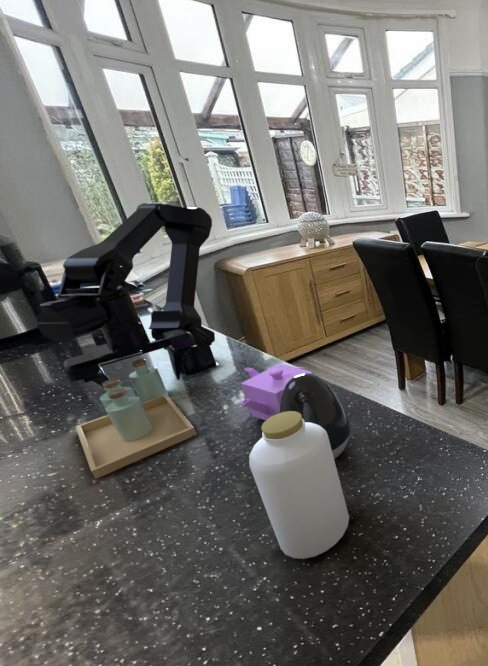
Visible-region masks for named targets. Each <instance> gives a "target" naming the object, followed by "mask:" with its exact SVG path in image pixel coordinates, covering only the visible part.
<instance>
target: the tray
mask: <svg viewBox="0 0 488 666" xmlns="http://www.w3.org/2000/svg"><path fill="white" fill-rule="evenodd" d="M141 404H142V406H143V408H144V410H145V412H146V414H147V416H148V418H149V420H150V422H151V424H152V427H153V430H152V431H151V432H150V433H149V434H148V435H146V436H144V437H142V438H140V439H137V440H134V441H129V442H124V441H122V440H121V439H120V437H119V435H118V433H117V431H116V429H115V427H114V425H113V423H112V422H111V420H110V418H109V416H108V414H107V415H104V416H100V417H98V418H96V419H93V420H90V421H87V422H84V423H81V424H79V425H76V426H75V429H76V432H77V435H78V438H79V441H80V444H81V446H82V449H83V452H84V455H85V457H86V462H87V463H88V466H89V468H90V471H91V473H92V475H93V477H94V478H95V479H99V478H101V477H103V476H106V475H109V474H110V473H112V472H114V471H117V470H119V469H122V468H124V467H127V466H128V465H131V464H133V463H135V462H138V461H139V460H142V459H145V458H147V457H149V456H152V455H153V454H156V453H158V452H160V451H163V450H165V449H167V448H169V447H172V446H174V445H176V444H179V443H181V442H183V441H186V440H188V439H190V438H193V437H195V436H197V435H198V433H197V432H196V429H195V427H194V426H193V425H192V423H191V422H190V421H189V420H188V418H187V417H186V416H185V414H183V412H182V411H181V410H180V409H179V407H178V406H177V405H176V403H175V402H174V401H173V400H172V398H170V397H169V394H168V395H167V394H165V395H162V396H159V397H156V398H153V399H151V400H148V401H145V402H142V403H141Z"/></svg>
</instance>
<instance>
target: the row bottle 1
mask: <svg viewBox="0 0 488 666" xmlns="http://www.w3.org/2000/svg"><path fill="white" fill-rule="evenodd" d="M109 379H110V380H107V381H105V382H103V383H102V385H103V387H102V388H103V389H105V391H106V392H104V393H103V394H102V395H100V397H99V400H100V402H101V404H102V406H103V408H104V410H105V409H106V407H107V406H108V405H110V404H111V403H113V402H112V400H111V399H110V398H109V396H108V393H109V392H111V391H113V390H115V389H119V388H124V389H125V390H126V392H127V393H126V394H127V396H128V397H137V394H135V393H136V392H135V391H134V389H133V387H131V386H123V387H122V385H121V381H120V378H118V377H117V378H109Z"/></svg>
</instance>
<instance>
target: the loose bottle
mask: <svg viewBox="0 0 488 666" xmlns="http://www.w3.org/2000/svg"><path fill="white" fill-rule="evenodd" d="M130 365H131V367H132V368H133V370H134V371H133V372H131V373H130V374H129V375H128V378H129V380H130V383H131V385H132V386H133V388H134V389H133V390H135V391H134V392H135V393H136V396H137V397H138V398H139V399H140V402H141V403H142V402H145V401H148V400H151V399H153V398H156V397H159V396H162V395H165V394H167V395H168V396H169V392H168V389H167V387H166V385H165V384H164V381H163V379H162V376H161V374H160V372H159V370H158V367H156V366H148V364H147V360H146V358H140V359H135V360H133V361H131V362H130Z"/></svg>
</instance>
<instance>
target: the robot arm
mask: <svg viewBox="0 0 488 666" xmlns="http://www.w3.org/2000/svg"><path fill="white" fill-rule="evenodd" d="M212 227H213V219H212V217H211V215H210V214H209V212H207V211H206V210H205V209H203V208H202V207H183V206H177V205H171V204H168V203H165V202H143V203H141V204H139V205H137V207H136V210H135V211H133V213H132V214H131V215H130V216H128V217H127V218H126V219H125V220H124V221H123V222H122V223H121V224H120V225H119V226H117V227H116V229H114V230H113V231H112V232H111V233H110V234H109V235H108V236H106V237H105V238H104V239H103V240H101V241H100V242H98V243H97V244H93V245H91V246H88V247H85V248H82V249H81V250H79V251H77V252H75V253H74V254H72V255H70V256H68V257H67V258H66V259H65V260H64V262H63V263H62V268H64V269H63V270H64V271H63V273H62V278H61V282H60V285H59V289H58V293H57V298H58V299H56V300H53V301H52V300H51V301H46V302H43V303H40V304H39V308H40V309H41V312H39V314H38V315H37V319H36V322H37V323H36V326H37V328H38V329H39V331H40V332H41V333H42V334H43V336H45V337H47V338H48V339H50V340H52V341H53V342H57V343H64V344H65V343H68V342H72V341H73V340H76V339H78V338H80V337H82V336H85V335H88V334H90V336H91V338H92V340H93V343H94V344H95V346H96V347H101V346H105V345H106V346H107V347H108V349H109V351H110V353H109V352H108V353H106V354H102V355H99V356H98V355H97V356H95V357H94V355H93V354H92V352H88V353H85V354H81V355H76V356H74V357H70V358H66V359H65V360H64V361H63V367H64V369H65V371H66V373H67V375H68V378H69V379H70V381H71V382H78V381H83V383H90V382H93V383H95V384H97V385H99V386H100V387H102V388H104V387H103V385H102V383H103V382H105V381H107V380H110V379H111V378H110V377H109V376H108V374H107V373H106V372H105V370H104V369H103V367H105V366H107V365H111V364H115V363H118V362H121V361H125V360H127V359H128V360H129V359H131V358H134V357H138V356H141V355H145V354H148V353H151V352H155V351H159V350H162V349H163V350H165V351H167V354H168V357H169V360H170V365H171V369H172V372H173V375H174V377H175V379H176V380H177V381H179V380H180V379H181V375H184V376H185V377H190V376H193V375H196V374H199V373H202V372H205V371H208V370H211V369H213V368H217V367H219V366H220V365H219V363H218V362H217V360H216V358H215V356H214V353H213V351H212V348H211V346H212V345H213V343H214V342H215V341H216V336H215V331H213V330H211V329H209V328H206V327H204V326H203V324H202V323H203V322H202V318H201V315H200V314H199V313H198V311H197V309H196V307H195V300H196V291H197V282H198V269H199V262H200V261H199V259H200V249H201V247H202V245H204V244H205V242H207V240H208V239H209V237H210V234H211V231H212ZM162 228H164V232H165V234H166V236H167V237H168V239H169V240H170V242H171V249H170V257H169V259H170V260H169V269H168V277H167V278H168V279H167V287H166V295H165V304H164V305H163V306H162V307H161V309H160V310H152V312H151V314H150V324H149V327H148V330H151V331H150V332H151V333H150V334H151V338H152V339H154V340H152V341H151V340H150V338H149V335H148V334H147V331H146V329H145V327H144V324H143V322H142V319H141V317H140V316H139V313H138V311H137V309H136V306H135V304H134V302H133V301H134V300H133V299H132V297H131V295H130V293H132V292H134V291H136V290H138V289H139V286H138V285H136V284H133V283H131V282H128V281H127V278H128V277H129V275H130V274H131V272H132V270H133V269H134V261H133V259H134V258H135V256H136V255H137V254H138V253H139V252H140V251H141V250H142V248H144V246H146V244H148V243H149V242H150V240H152V239H153V237H154V236H155V235H156V234H157V233H158V232H159V231H160V230H161V229H162Z"/></svg>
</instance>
